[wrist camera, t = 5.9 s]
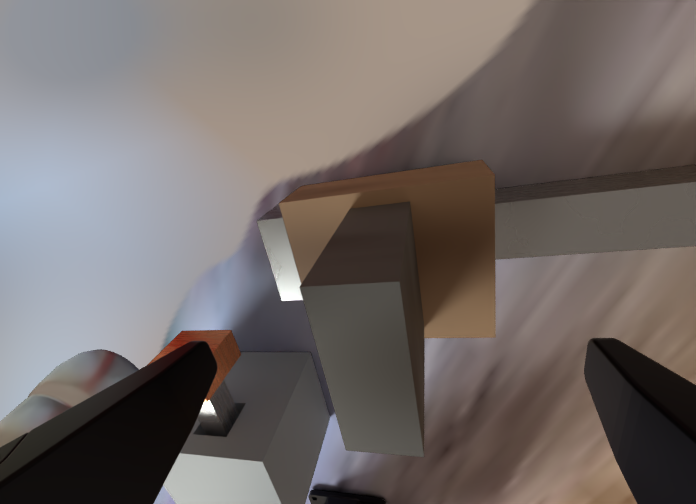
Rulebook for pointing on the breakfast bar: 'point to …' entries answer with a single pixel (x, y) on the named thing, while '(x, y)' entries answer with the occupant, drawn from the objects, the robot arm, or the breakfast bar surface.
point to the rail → (557, 219)
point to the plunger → (219, 402)
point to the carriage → (392, 287)
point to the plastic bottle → (65, 390)
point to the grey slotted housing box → (258, 437)
